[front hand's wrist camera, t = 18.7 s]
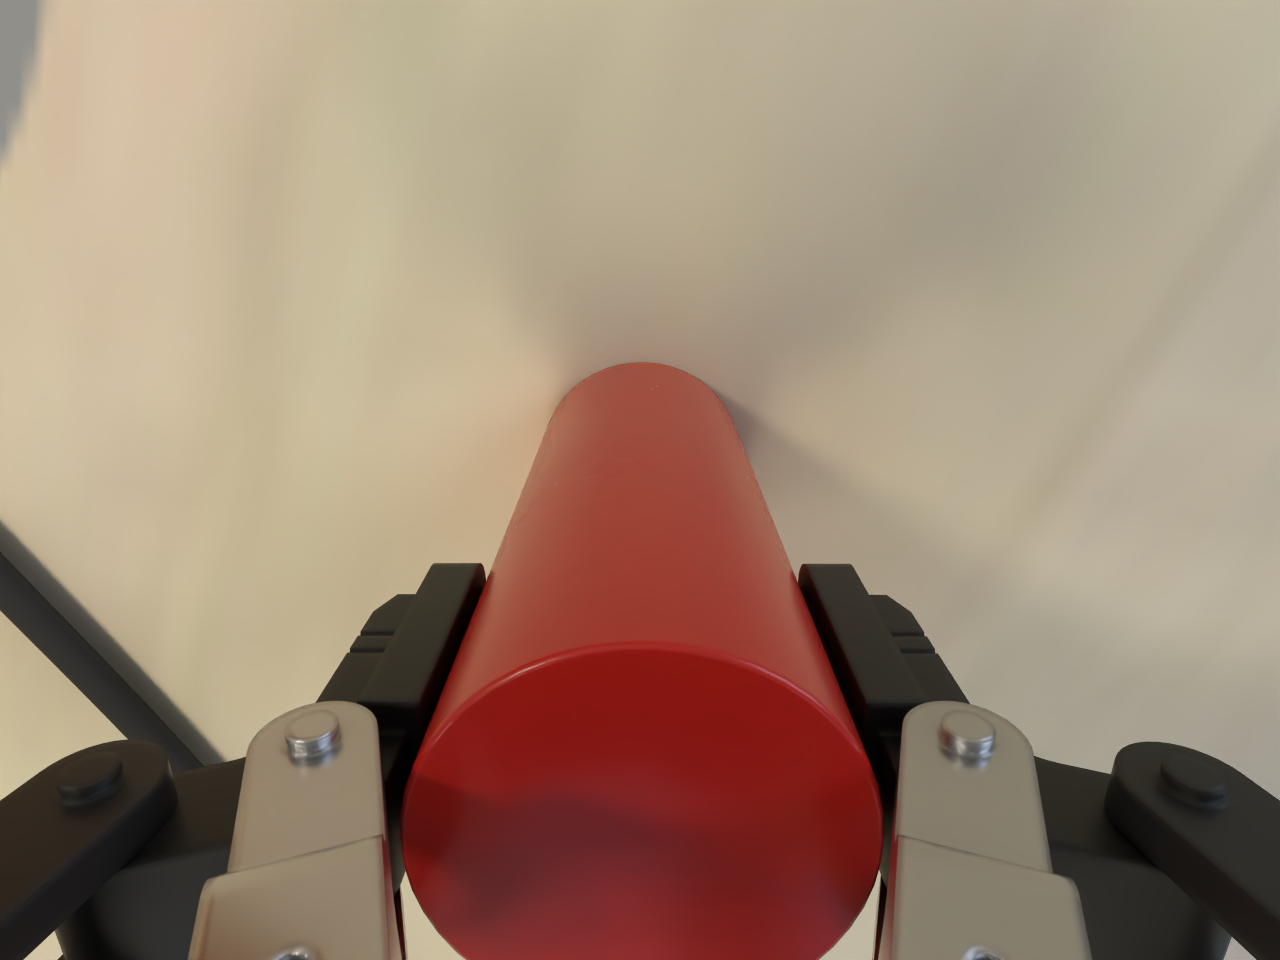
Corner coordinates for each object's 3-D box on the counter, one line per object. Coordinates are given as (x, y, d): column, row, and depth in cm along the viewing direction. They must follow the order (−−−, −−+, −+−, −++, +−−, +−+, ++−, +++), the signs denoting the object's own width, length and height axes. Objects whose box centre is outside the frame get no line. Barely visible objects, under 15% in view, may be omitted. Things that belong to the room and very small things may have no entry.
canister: (618, 580, 20) (588, 1079, 9) (503, 435, 19) (294, 806, 8) (776, 481, 19) (972, 900, 8) (667, 321, 18) (714, 547, 7)
